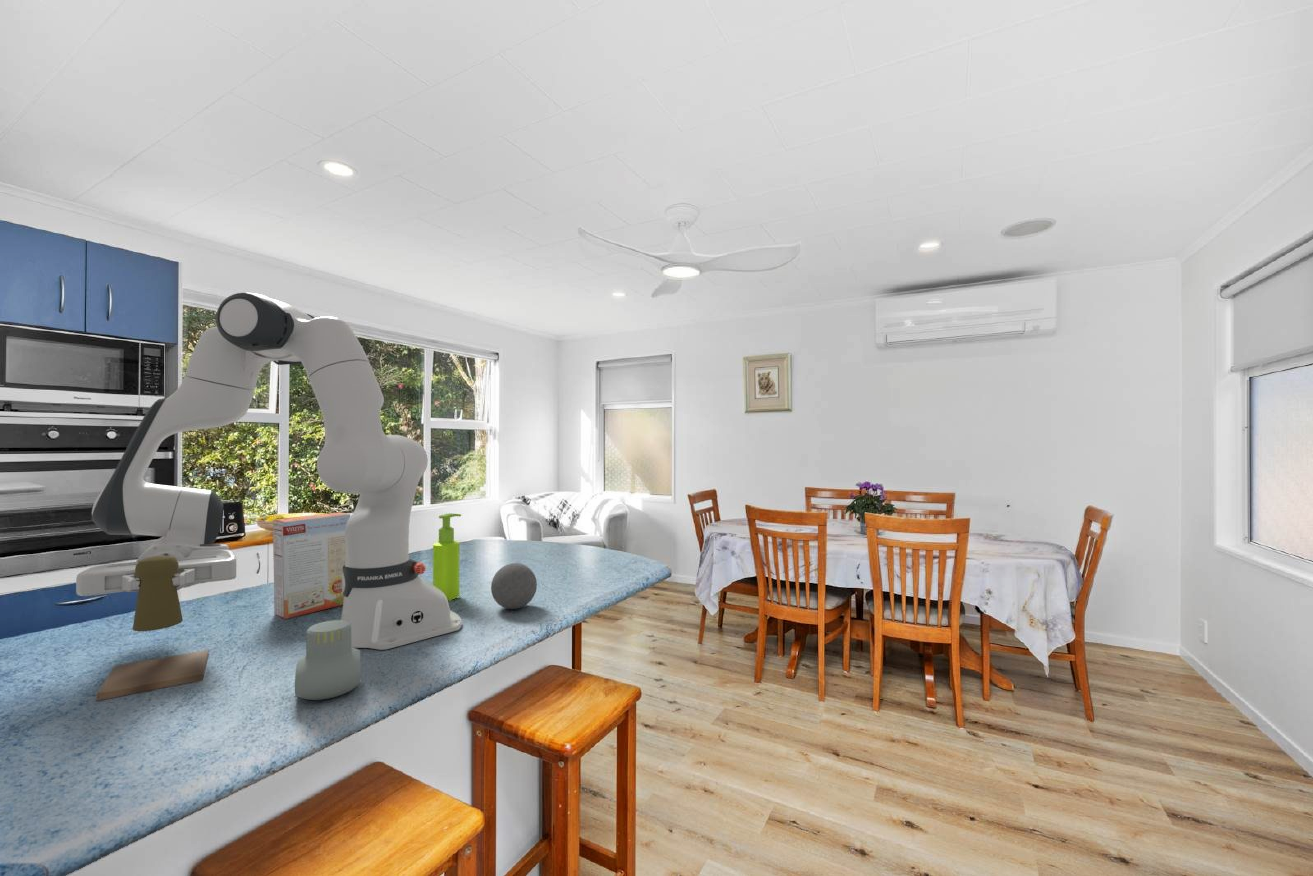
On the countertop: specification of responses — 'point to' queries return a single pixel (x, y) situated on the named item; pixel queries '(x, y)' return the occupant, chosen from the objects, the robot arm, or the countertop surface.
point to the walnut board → (154, 674)
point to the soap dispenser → (446, 560)
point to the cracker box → (308, 563)
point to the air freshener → (328, 662)
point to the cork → (157, 594)
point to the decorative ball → (514, 586)
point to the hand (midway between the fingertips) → (156, 583)
